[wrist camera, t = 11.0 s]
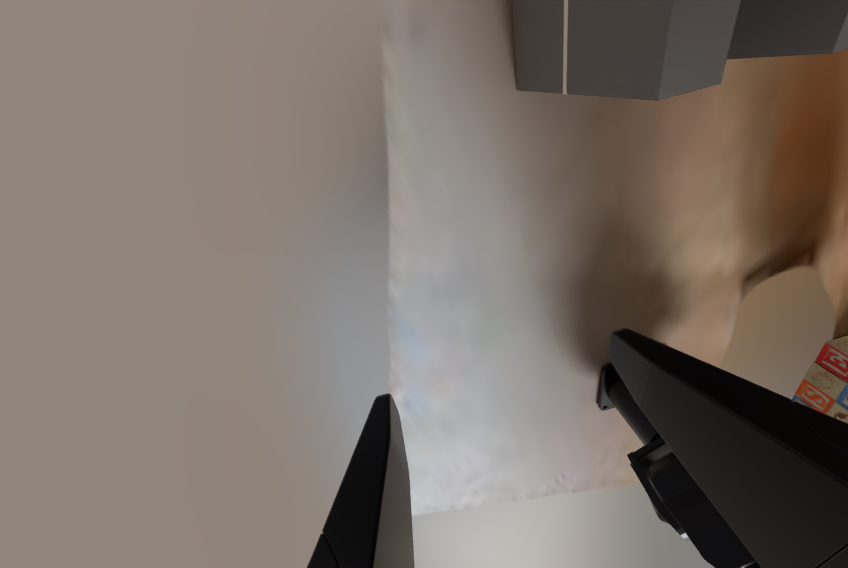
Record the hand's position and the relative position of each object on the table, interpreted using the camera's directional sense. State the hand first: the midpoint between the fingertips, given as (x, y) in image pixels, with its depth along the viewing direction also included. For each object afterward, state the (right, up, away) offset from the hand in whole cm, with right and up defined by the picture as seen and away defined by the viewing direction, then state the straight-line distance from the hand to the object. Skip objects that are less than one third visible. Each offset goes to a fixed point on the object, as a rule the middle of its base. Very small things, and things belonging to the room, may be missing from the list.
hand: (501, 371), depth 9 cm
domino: (+3, +15, +7) cm, 17 cm away
